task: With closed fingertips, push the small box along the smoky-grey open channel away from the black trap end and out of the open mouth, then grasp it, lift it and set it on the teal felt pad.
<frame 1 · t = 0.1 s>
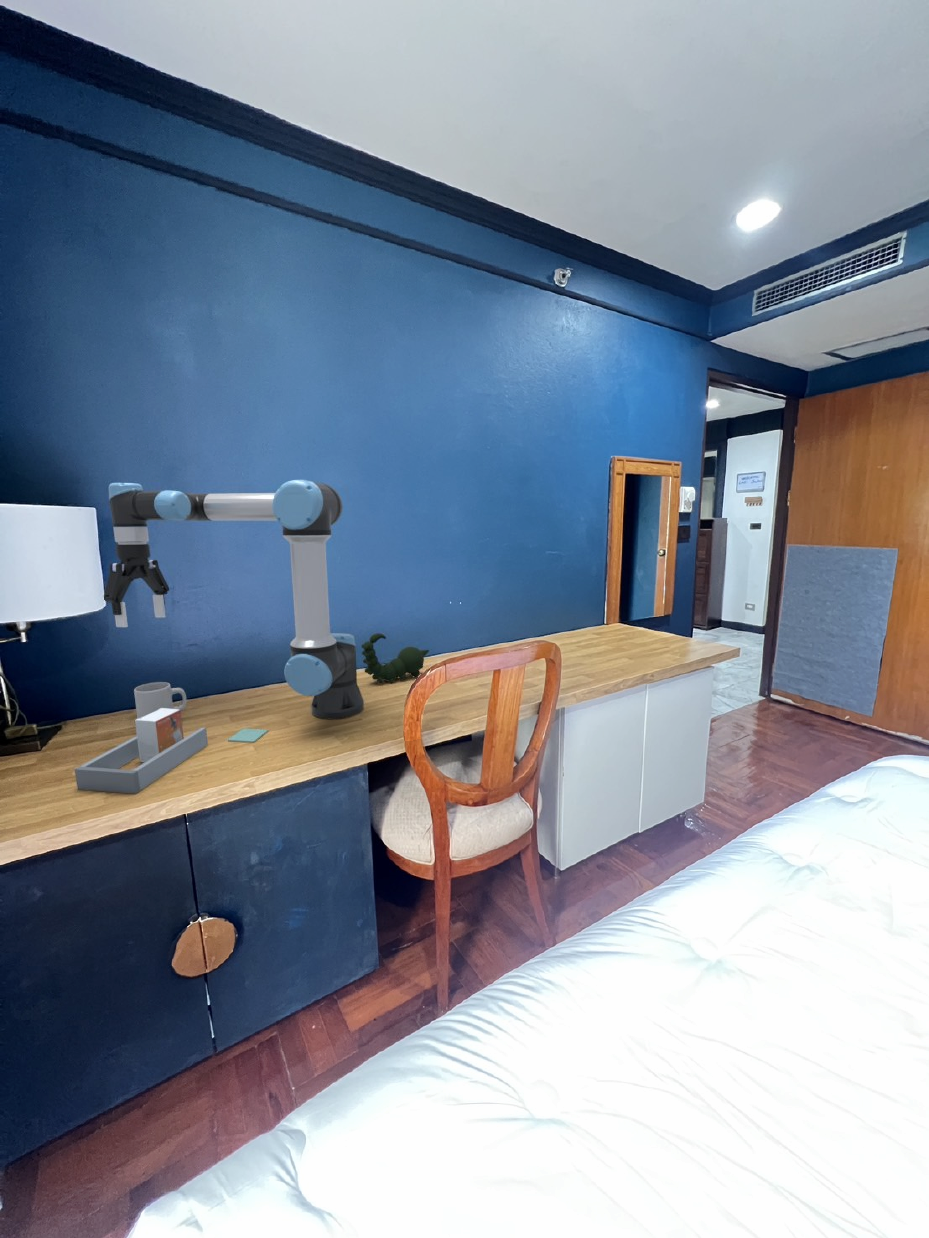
hand: (142, 622, 135), 28 cm above the table, fingers open, 13 cm apart
trap pad: (122, 781, 106), resting in channel
small box: (163, 756, 118), resting in channel
channel: (150, 763, 114), on the table
toy figurine: (398, 680, 176), on the table
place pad: (248, 736, 129), on the table
mug: (164, 723, 138), on the table
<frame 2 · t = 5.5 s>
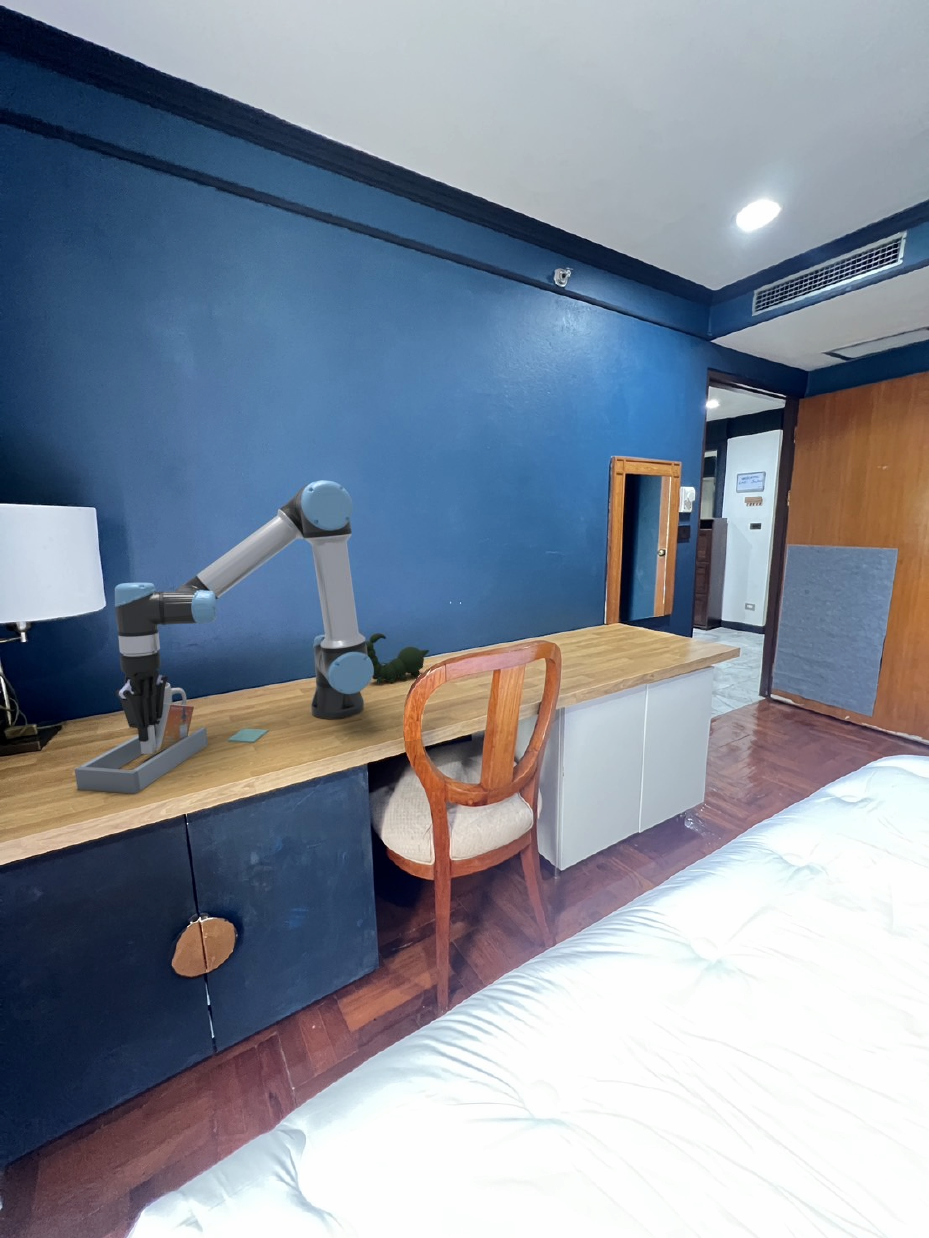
hand: (148, 752, 114), 3 cm above the table, fingers closed
small box: (163, 749, 118), point 1 cm above the table, touching gripper, hand
everything else where it was.
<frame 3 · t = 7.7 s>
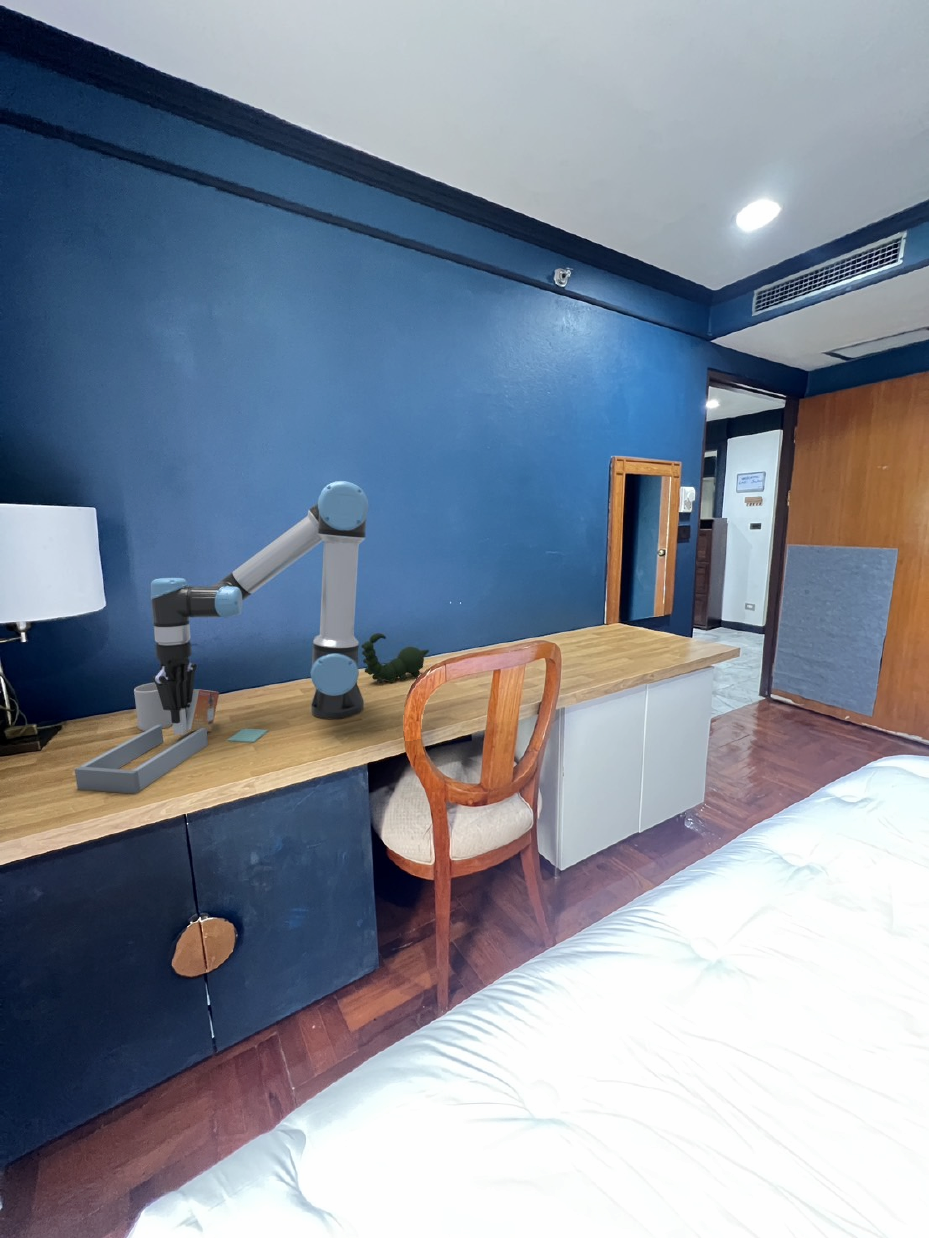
hand: (180, 733, 125), 3 cm above the table, fingers closed
small box: (192, 731, 129), point 1 cm above the table, touching gripper, hand
everything else where it was.
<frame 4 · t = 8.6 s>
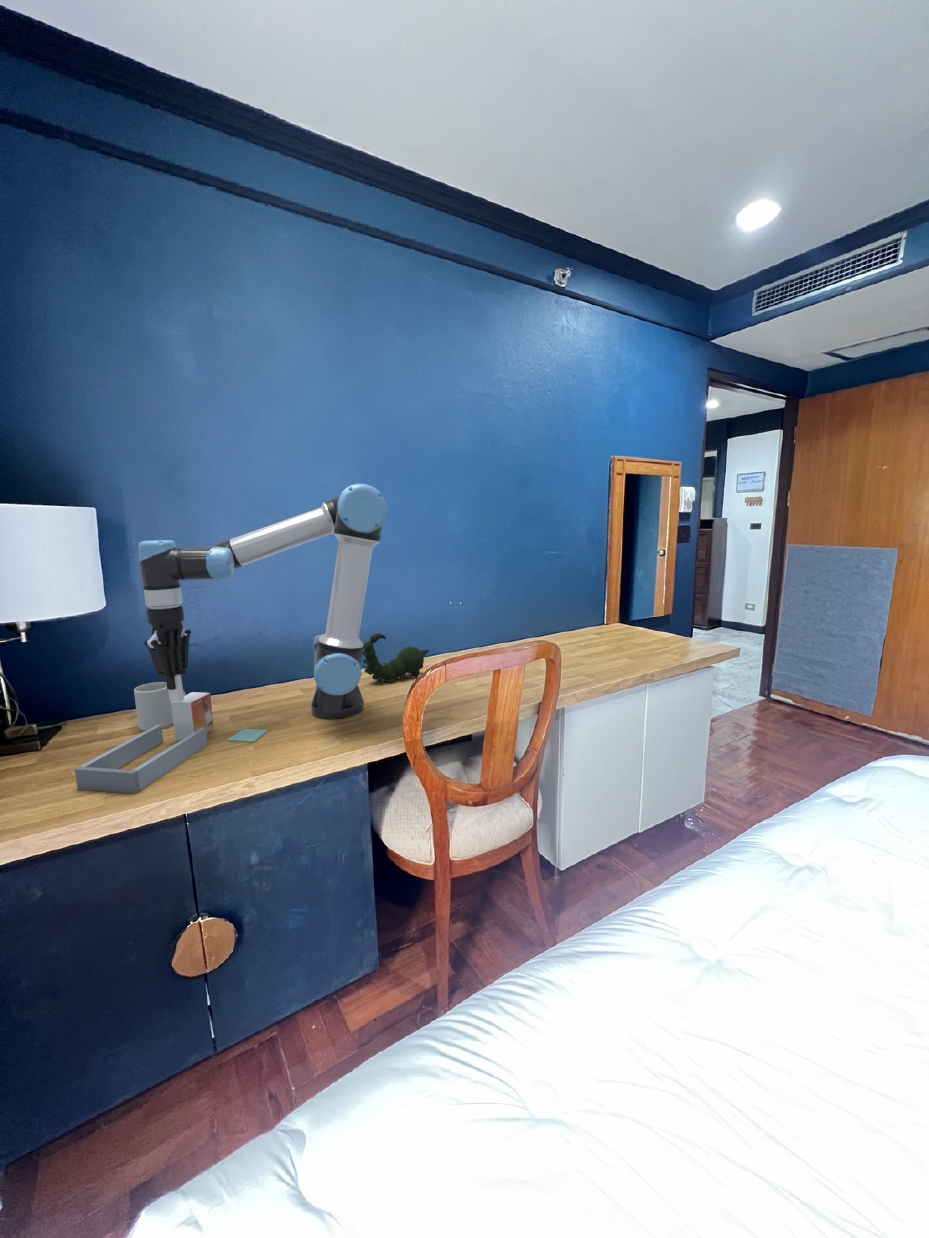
hand: (177, 700, 122), 12 cm above the table, fingers closed
small box: (195, 736, 130), on the table
everything else where it was.
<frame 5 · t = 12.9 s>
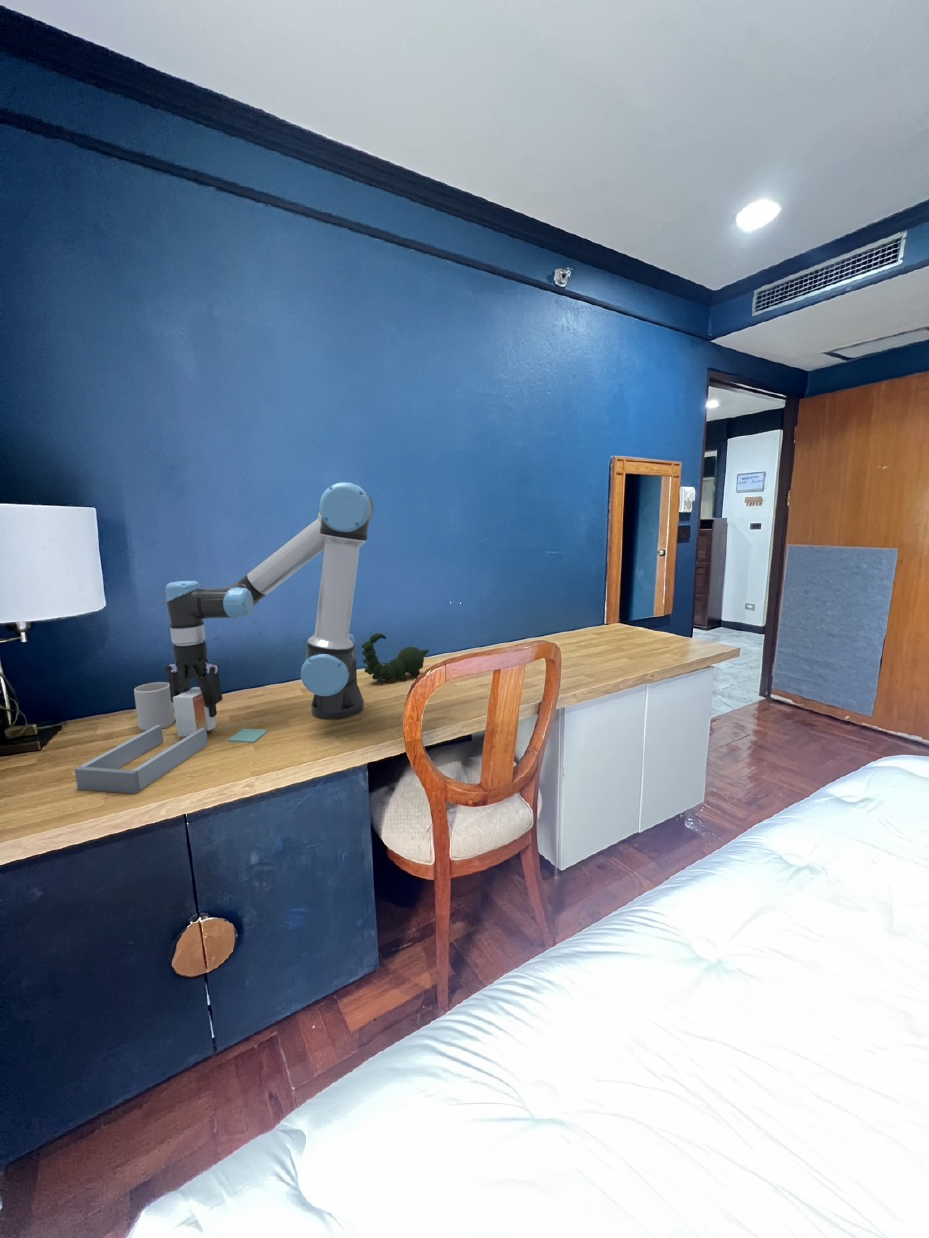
hand: (200, 727, 131), 2 cm above the table, fingers closed on small box, 6 cm apart
small box: (197, 731, 130), point 1 cm above the table, touching gripper
everything else where it was.
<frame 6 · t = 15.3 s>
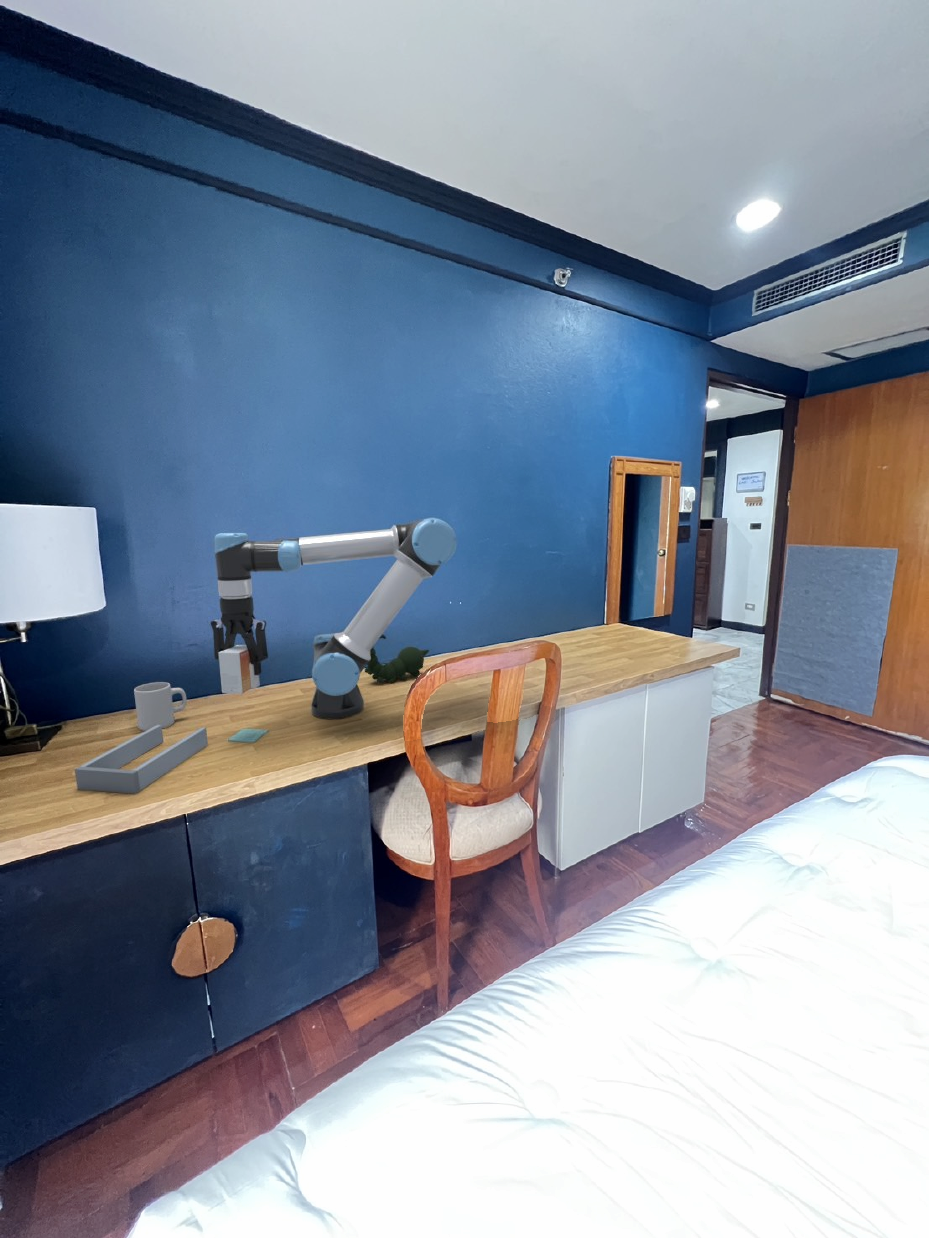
hand: (243, 686, 126), 14 cm above the table, fingers closed on small box, 6 cm apart
small box: (241, 689, 125), point 13 cm above the table, touching gripper
everything else where it was.
when the fingers open (2 cm above the table, at t = 17.6 s): small box stays where it is, resting on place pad.
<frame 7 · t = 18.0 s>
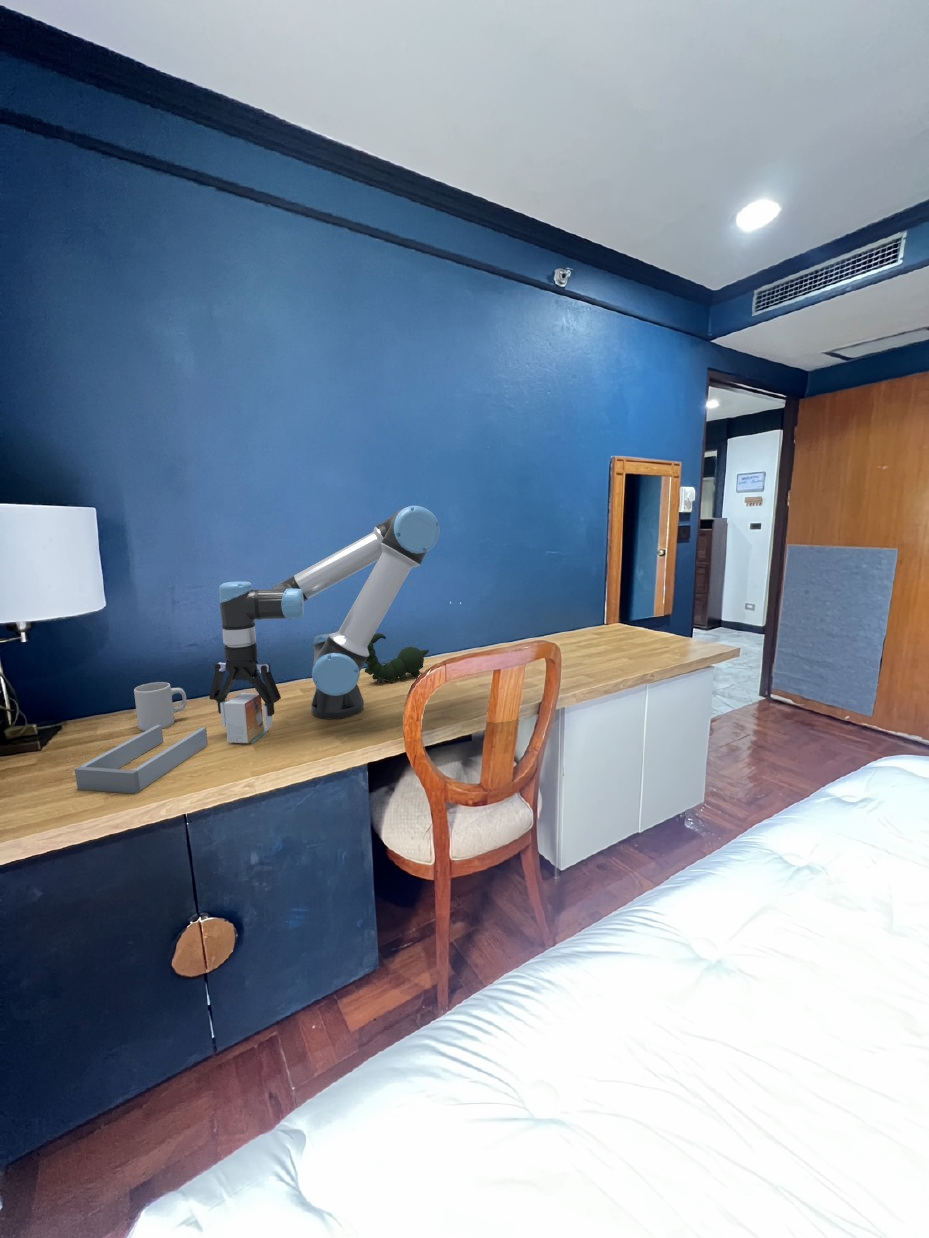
hand: (247, 726, 128), 3 cm above the table, fingers open, 11 cm apart
small box: (246, 737, 128), resting on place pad
everything else where it was.
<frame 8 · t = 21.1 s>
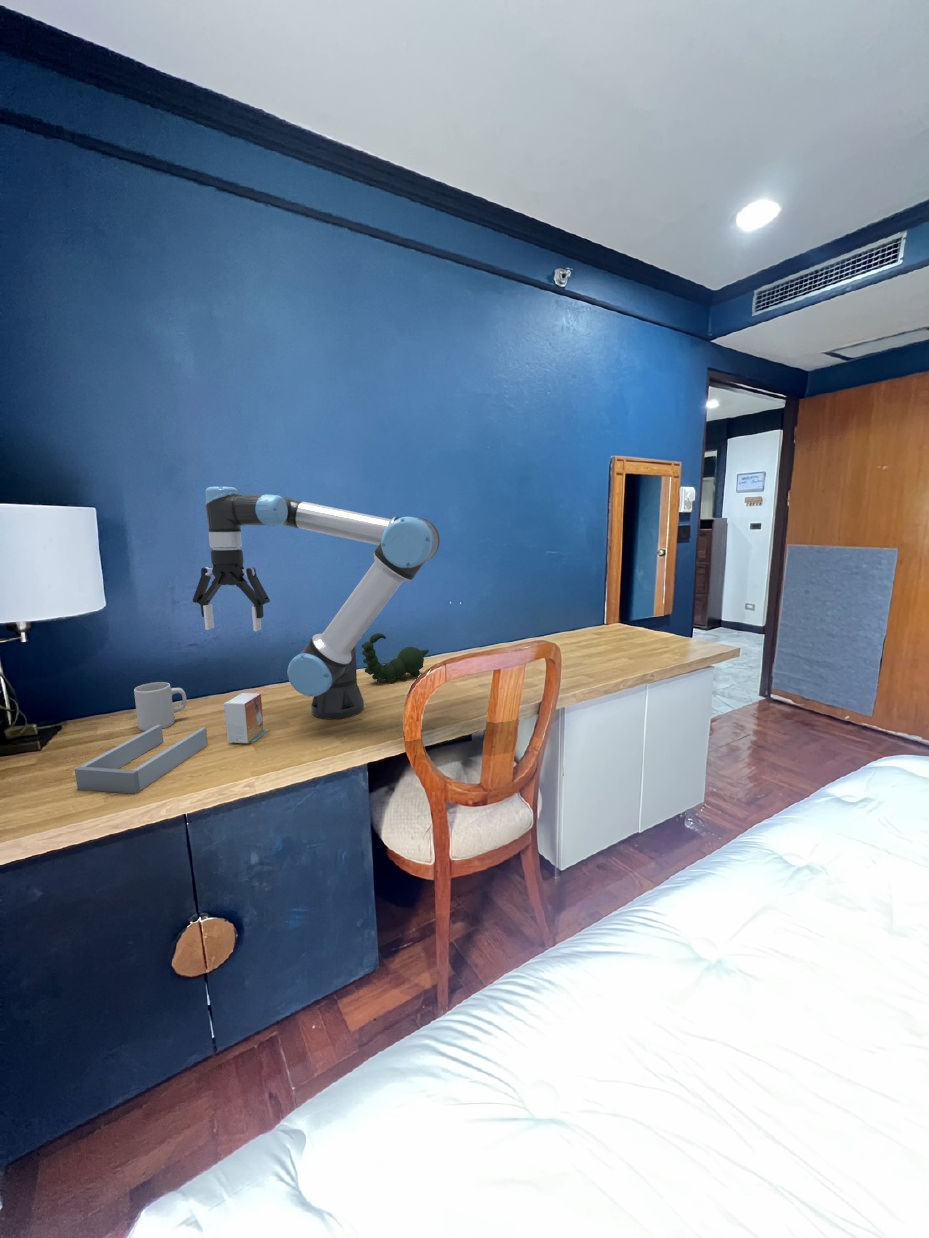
hand: (233, 629, 132), 27 cm above the table, fingers open, 13 cm apart
nothing on the table moved.
at the end: small box inside the target area on the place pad (1.2 cm from its centre), point 0.2 cm above the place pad's base; small box tilted 0°; the gripper is holding nothing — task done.
